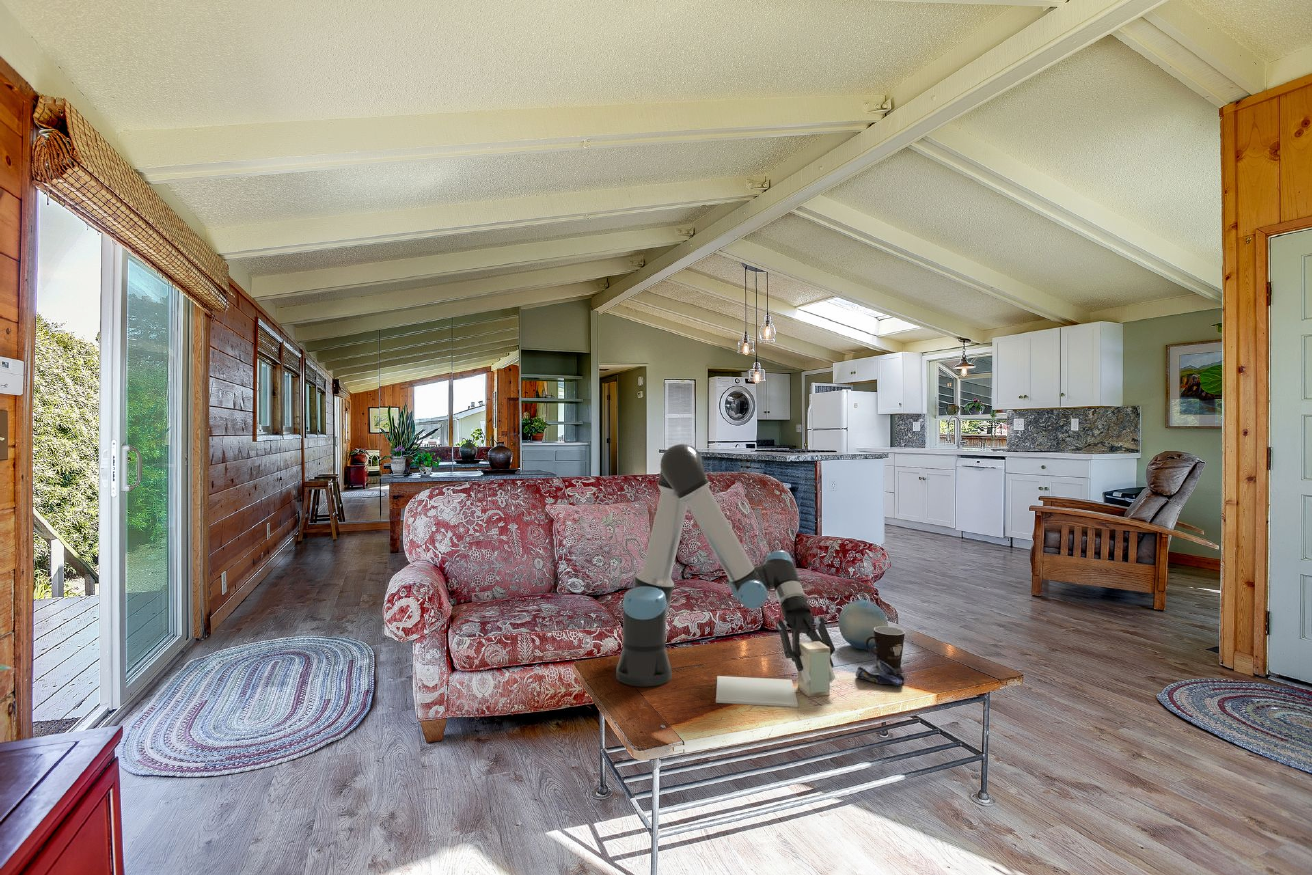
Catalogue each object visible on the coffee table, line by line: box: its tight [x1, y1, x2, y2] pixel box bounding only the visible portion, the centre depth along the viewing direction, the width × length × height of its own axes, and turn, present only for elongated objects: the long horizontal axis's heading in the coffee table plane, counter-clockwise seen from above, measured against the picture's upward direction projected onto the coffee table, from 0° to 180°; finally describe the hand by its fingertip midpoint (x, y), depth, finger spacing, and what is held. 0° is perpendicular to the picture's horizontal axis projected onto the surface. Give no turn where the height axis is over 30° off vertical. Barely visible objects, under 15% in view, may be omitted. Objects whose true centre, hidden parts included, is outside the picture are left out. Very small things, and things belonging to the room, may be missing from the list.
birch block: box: [797, 640, 831, 697], centre depth 171 cm, size 6×6×12 cm
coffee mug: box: [866, 626, 906, 670], centre depth 192 cm, size 12×9×10 cm
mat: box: [715, 675, 799, 708], centre depth 170 cm, size 20×17×1 cm
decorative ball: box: [838, 599, 889, 650], centre depth 208 cm, size 15×15×15 cm
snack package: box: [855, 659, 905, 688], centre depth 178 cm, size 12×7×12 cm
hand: (820, 680), depth 168 cm, fingers closed on birch block, 6 cm apart
